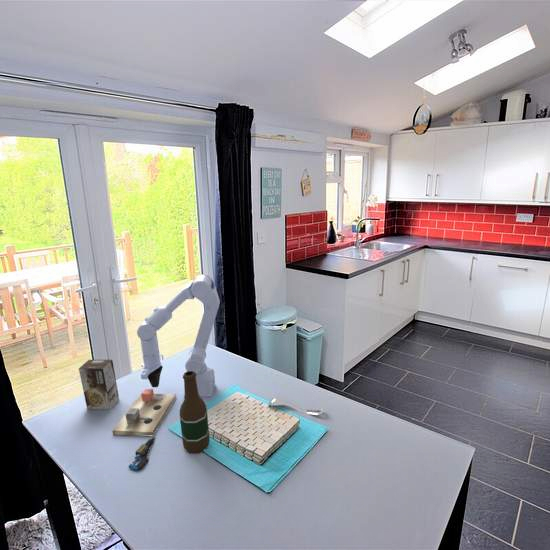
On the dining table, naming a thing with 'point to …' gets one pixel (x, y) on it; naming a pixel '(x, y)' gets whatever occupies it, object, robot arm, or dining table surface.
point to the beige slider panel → (144, 416)
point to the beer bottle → (193, 417)
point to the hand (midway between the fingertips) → (155, 386)
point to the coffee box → (99, 384)
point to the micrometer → (142, 455)
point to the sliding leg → (149, 395)
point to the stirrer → (281, 402)
